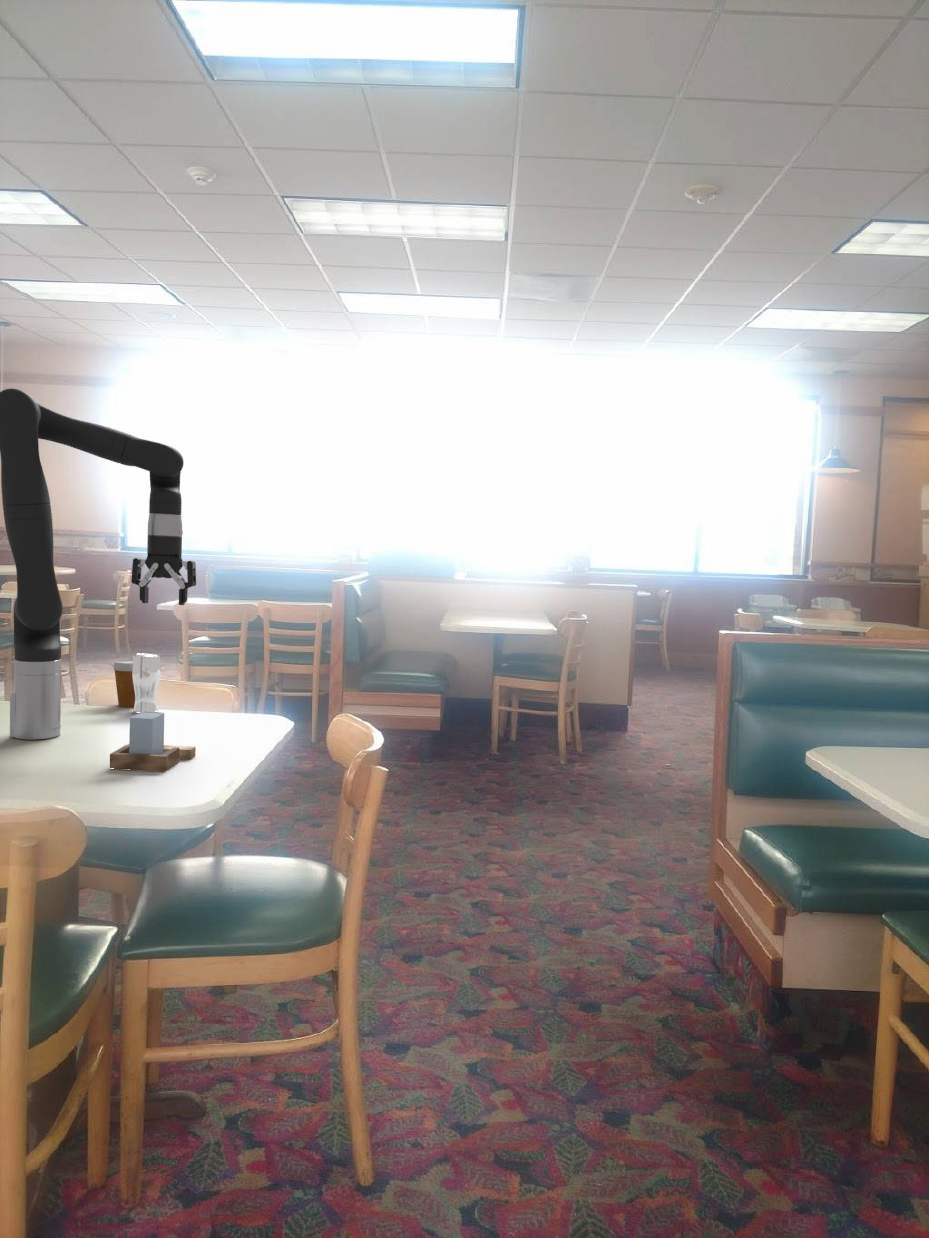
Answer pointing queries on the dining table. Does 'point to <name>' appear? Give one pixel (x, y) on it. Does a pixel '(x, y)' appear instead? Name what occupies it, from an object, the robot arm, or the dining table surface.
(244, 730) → the dining table surface
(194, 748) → the dock step
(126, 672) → the disposable coffee cup
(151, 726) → the pale grey upright block
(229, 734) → the dining table surface
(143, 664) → the beer glass
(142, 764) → the tray
